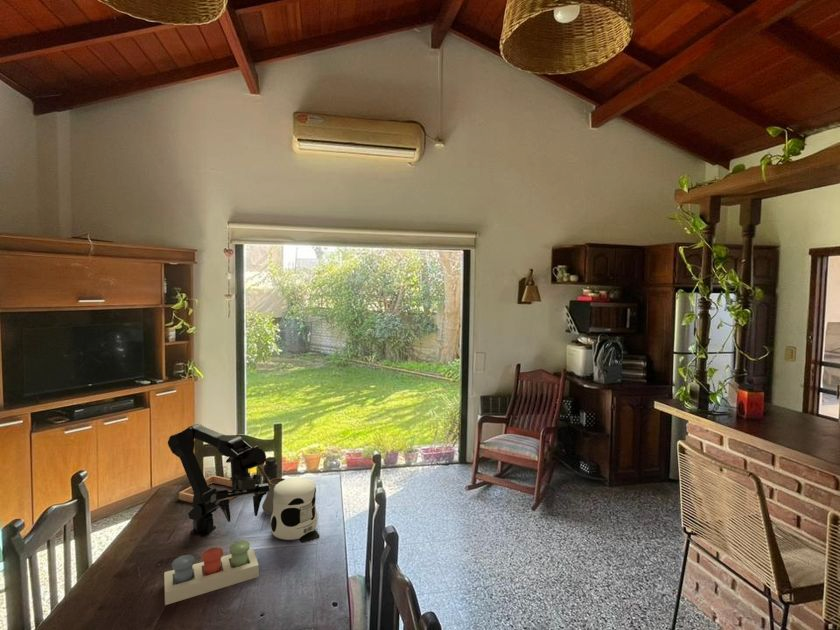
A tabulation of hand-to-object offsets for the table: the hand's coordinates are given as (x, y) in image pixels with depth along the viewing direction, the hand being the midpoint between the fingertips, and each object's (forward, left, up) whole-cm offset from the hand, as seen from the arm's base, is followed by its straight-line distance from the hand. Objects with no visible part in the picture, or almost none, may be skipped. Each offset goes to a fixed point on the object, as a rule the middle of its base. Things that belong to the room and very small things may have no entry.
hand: (243, 518), depth 149 cm
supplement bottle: (-26, +49, -13) cm, 57 cm away
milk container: (+8, +19, -13) cm, 24 cm away
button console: (0, -14, -13) cm, 19 cm away
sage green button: (+6, -8, -10) cm, 14 cm away
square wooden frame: (-42, +31, -13) cm, 54 cm away
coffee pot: (-12, +31, -13) cm, 36 cm away
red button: (0, -14, -10) cm, 17 cm away
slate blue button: (-5, -20, -10) cm, 23 cm away
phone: (+11, +21, -14) cm, 27 cm away
